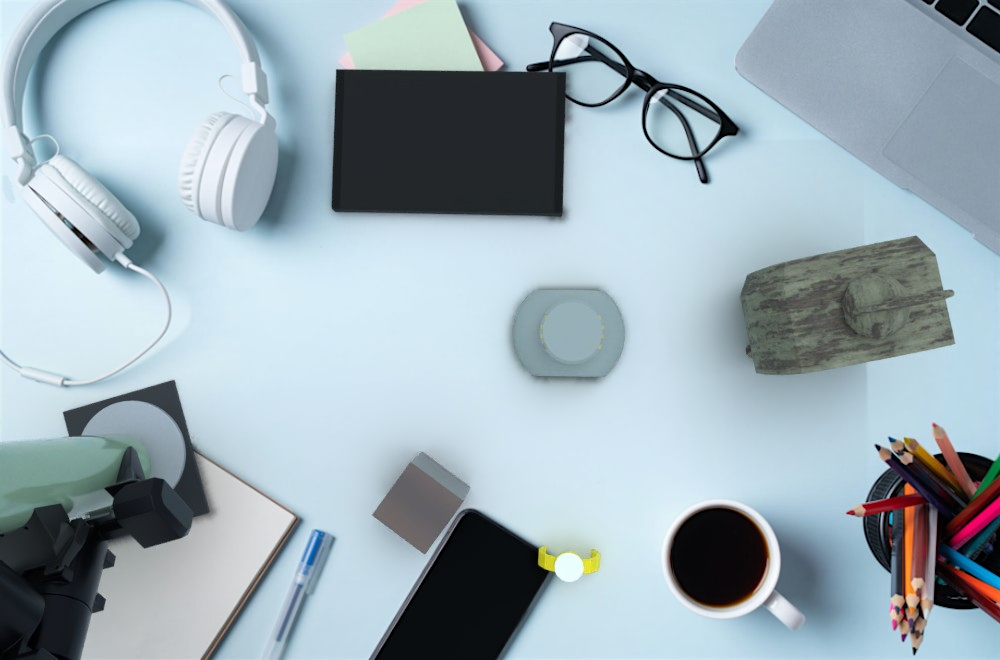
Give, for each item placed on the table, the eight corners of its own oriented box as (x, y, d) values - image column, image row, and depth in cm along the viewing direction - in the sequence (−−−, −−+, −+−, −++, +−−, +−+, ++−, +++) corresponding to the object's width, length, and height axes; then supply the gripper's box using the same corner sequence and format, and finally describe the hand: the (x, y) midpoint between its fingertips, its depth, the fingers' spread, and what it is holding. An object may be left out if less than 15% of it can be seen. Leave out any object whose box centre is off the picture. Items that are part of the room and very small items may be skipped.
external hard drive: (343, 78, 82) (336, 68, 79) (565, 81, 81) (566, 71, 78) (338, 214, 81) (331, 208, 78) (562, 218, 80) (563, 213, 77)
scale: (215, 509, 81) (206, 514, 78) (105, 541, 81) (93, 546, 79) (180, 379, 81) (170, 379, 79) (71, 410, 82) (58, 412, 79)
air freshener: (621, 294, 80) (634, 285, 70) (620, 375, 79) (633, 378, 69) (514, 293, 80) (512, 284, 70) (513, 374, 80) (510, 376, 70)
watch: (598, 539, 79) (603, 555, 73) (596, 567, 79) (602, 584, 73) (539, 535, 79) (539, 550, 73) (537, 563, 79) (537, 580, 73)
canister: (165, 463, 75) (-40, 496, 50) (120, 520, 75) (-109, 584, 49) (112, 418, 76) (-117, 427, 50) (67, 475, 76) (-185, 514, 50)
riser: (436, 532, 80) (424, 554, 71) (389, 497, 80) (371, 515, 71) (471, 484, 80) (463, 501, 71) (424, 449, 80) (410, 461, 71)
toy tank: (733, 372, 79) (826, 379, 54) (715, 284, 79) (799, 251, 54) (876, 344, 78) (1036, 338, 54) (857, 256, 79) (1007, 210, 54)
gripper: (106, 525, 56) (144, 374, 67) (-140, 595, 56) (-60, 432, 68) (183, 600, 63) (206, 452, 75) (-34, 661, 64) (22, 504, 75)
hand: (95, 459), depth 73 cm, fingers closed on canister, 7 cm apart
